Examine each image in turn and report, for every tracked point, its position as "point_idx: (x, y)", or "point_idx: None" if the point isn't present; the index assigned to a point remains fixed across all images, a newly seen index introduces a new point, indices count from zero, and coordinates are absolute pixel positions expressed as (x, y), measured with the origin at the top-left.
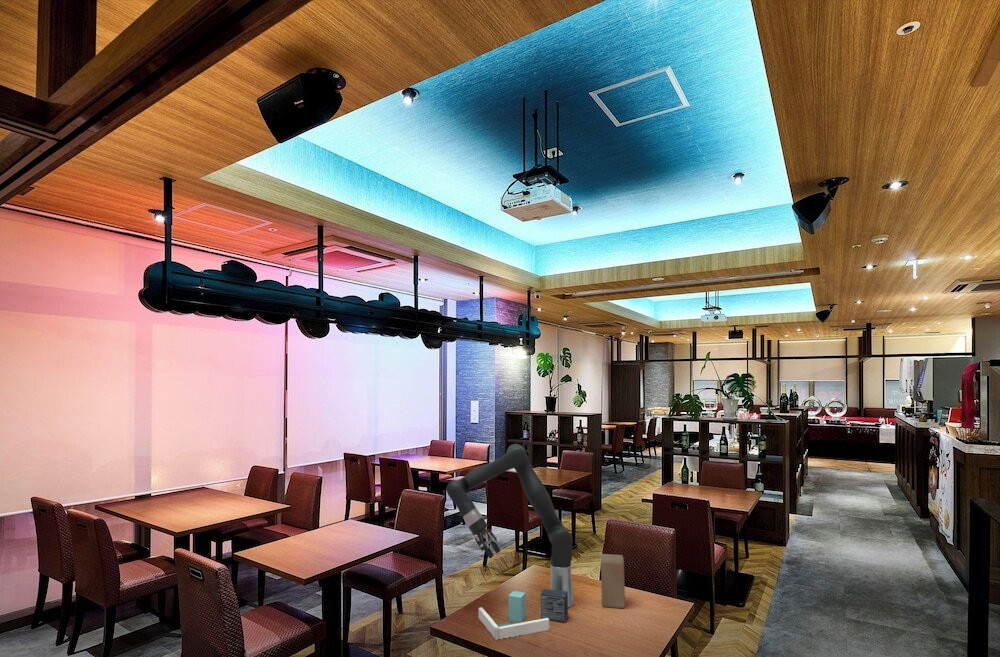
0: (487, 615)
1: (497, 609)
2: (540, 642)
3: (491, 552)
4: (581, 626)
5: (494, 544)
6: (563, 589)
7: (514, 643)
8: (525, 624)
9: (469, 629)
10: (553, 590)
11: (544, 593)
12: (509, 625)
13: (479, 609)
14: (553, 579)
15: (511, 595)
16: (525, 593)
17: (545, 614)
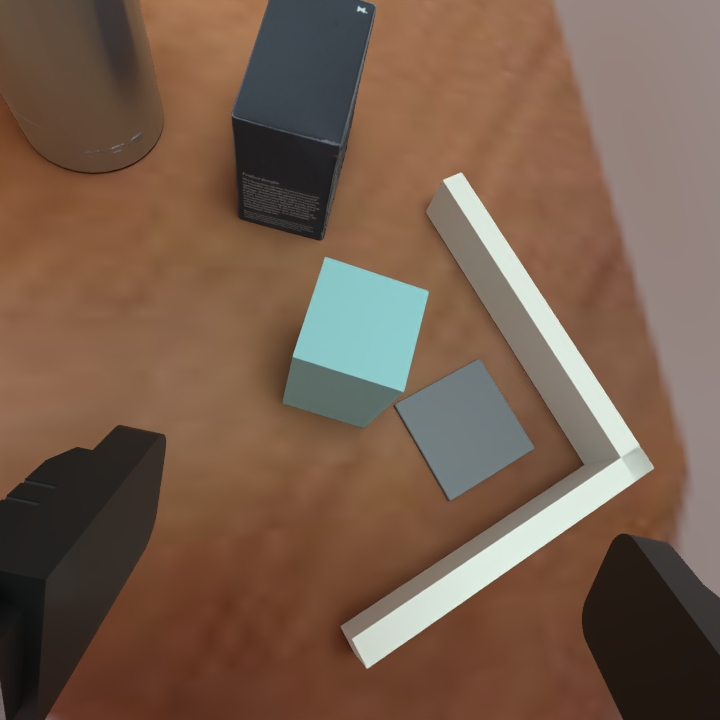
0: (482, 563)
1: (194, 530)
2: (574, 250)
3: (716, 600)
4: (376, 60)
5: (43, 633)
6: (141, 11)
7: (617, 373)
8: (544, 300)
9: (528, 677)
10: (268, 55)
11: (340, 118)
12: (586, 391)
13: (386, 654)
14: (92, 12)
15: (395, 368)
16: (326, 259)
17: (332, 199)
